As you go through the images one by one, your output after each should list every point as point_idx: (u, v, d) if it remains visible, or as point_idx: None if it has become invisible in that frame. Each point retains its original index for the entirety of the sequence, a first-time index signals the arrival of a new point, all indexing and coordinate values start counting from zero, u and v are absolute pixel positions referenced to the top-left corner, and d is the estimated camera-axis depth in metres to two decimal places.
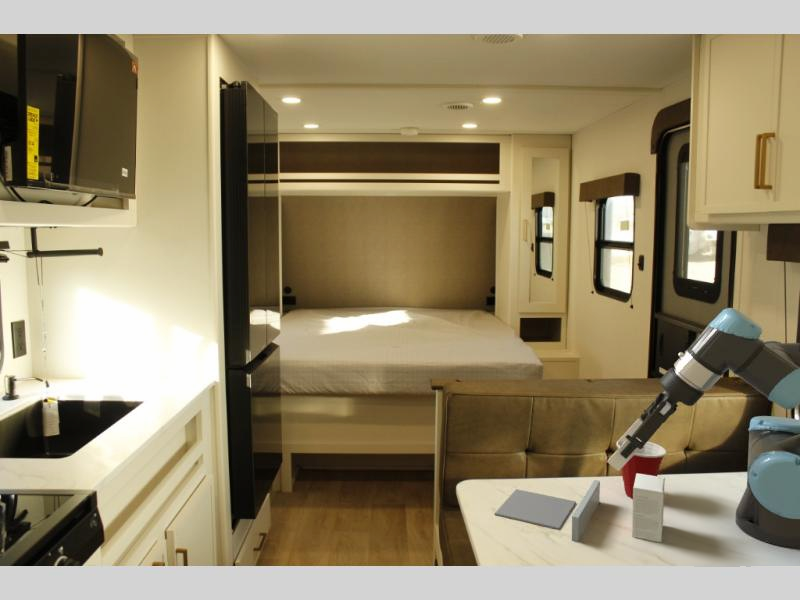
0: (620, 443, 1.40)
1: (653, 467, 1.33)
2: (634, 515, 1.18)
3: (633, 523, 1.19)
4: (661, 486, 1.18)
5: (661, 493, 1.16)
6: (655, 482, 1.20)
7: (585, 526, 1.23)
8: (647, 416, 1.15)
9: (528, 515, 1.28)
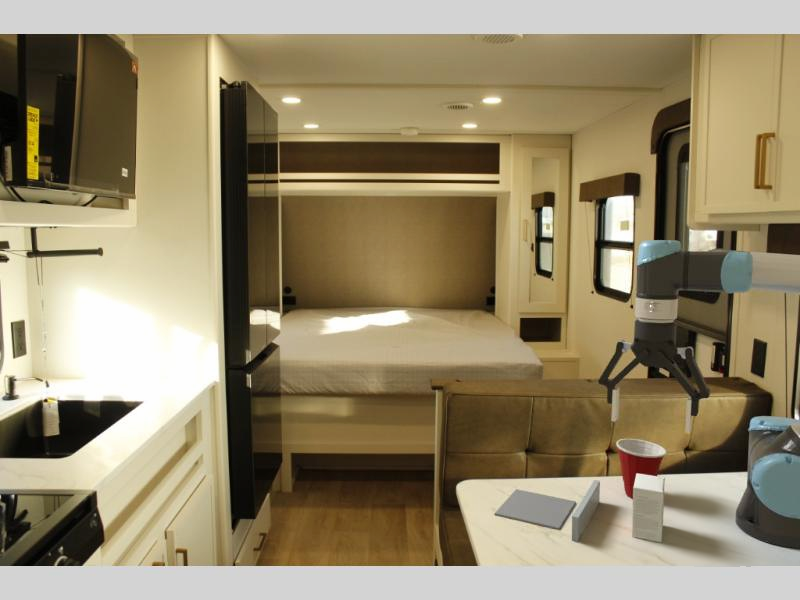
0: (620, 443, 1.40)
1: (653, 467, 1.33)
2: (634, 515, 1.18)
3: (633, 523, 1.19)
4: (661, 486, 1.18)
5: (661, 493, 1.16)
6: (655, 482, 1.20)
7: (585, 526, 1.23)
8: (673, 373, 1.14)
9: (528, 515, 1.28)
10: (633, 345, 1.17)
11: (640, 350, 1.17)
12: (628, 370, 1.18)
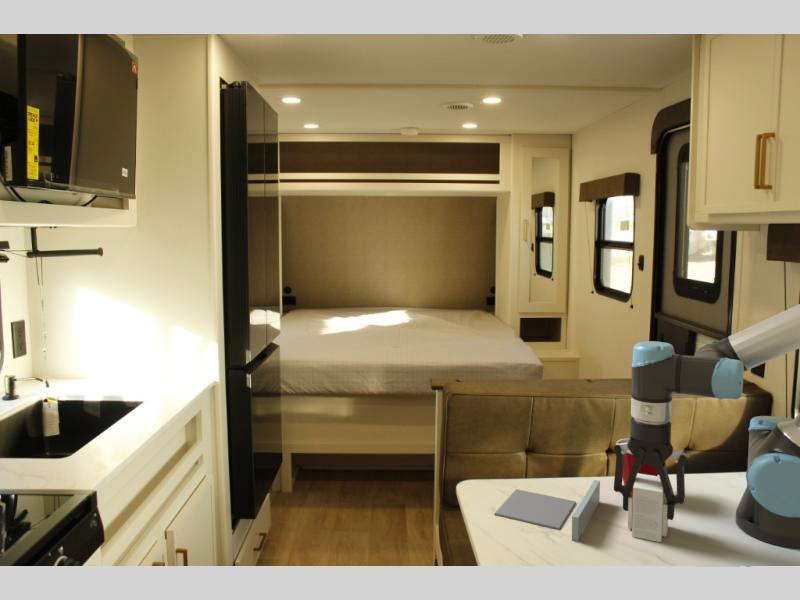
0: None
1: (653, 467, 1.33)
2: (634, 515, 1.18)
3: (633, 523, 1.19)
4: (661, 485, 1.18)
5: (661, 493, 1.16)
6: (655, 482, 1.20)
7: (585, 526, 1.23)
8: (660, 474, 1.18)
9: (528, 515, 1.28)
10: (629, 444, 1.20)
11: (637, 447, 1.20)
12: (635, 473, 1.20)
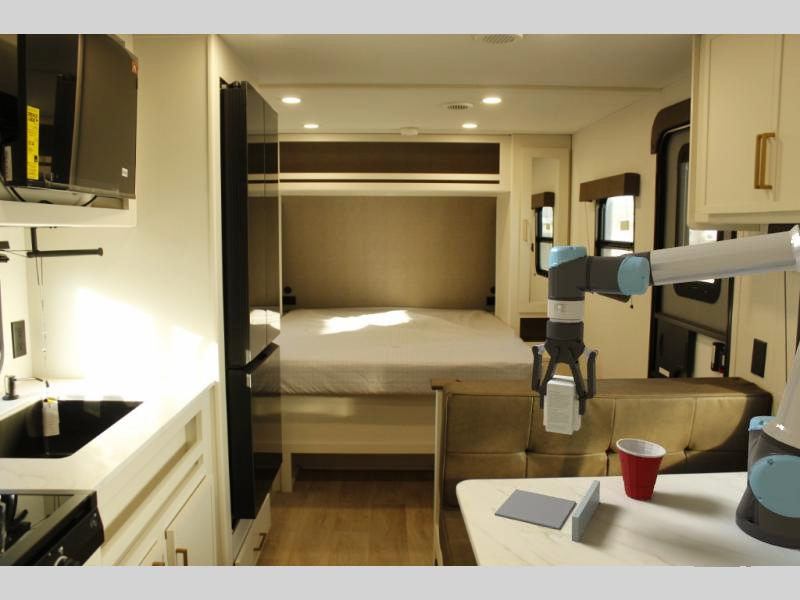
0: (620, 443, 1.40)
1: (653, 467, 1.33)
2: (547, 410, 1.24)
3: (546, 417, 1.25)
4: None
5: (572, 387, 1.22)
6: (569, 380, 1.26)
7: (585, 526, 1.23)
8: (572, 371, 1.24)
9: (528, 515, 1.28)
10: (545, 344, 1.26)
11: (552, 346, 1.26)
12: (550, 371, 1.26)
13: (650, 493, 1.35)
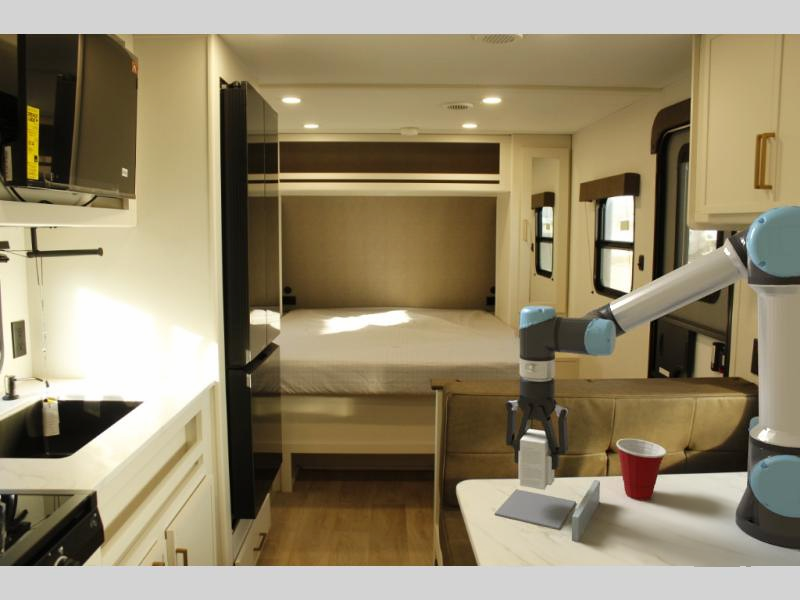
0: (620, 443, 1.40)
1: (653, 467, 1.33)
2: (521, 465, 1.28)
3: (520, 473, 1.29)
4: (546, 438, 1.28)
5: (543, 444, 1.26)
6: (542, 435, 1.30)
7: (585, 526, 1.23)
8: (545, 427, 1.28)
9: (528, 515, 1.28)
10: (518, 401, 1.30)
11: (525, 403, 1.30)
12: (523, 427, 1.30)
13: (650, 493, 1.35)
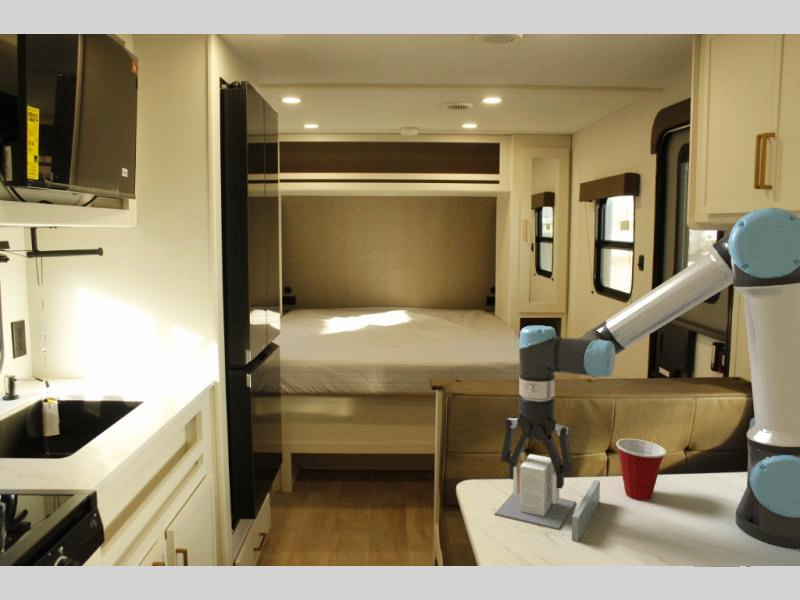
0: (620, 443, 1.40)
1: (653, 467, 1.33)
2: (521, 491, 1.29)
3: (520, 499, 1.29)
4: (546, 465, 1.29)
5: (543, 471, 1.26)
6: (542, 461, 1.31)
7: (585, 526, 1.23)
8: (547, 447, 1.28)
9: (528, 515, 1.28)
10: (518, 420, 1.31)
11: (525, 423, 1.30)
12: (521, 445, 1.31)
13: (650, 493, 1.35)
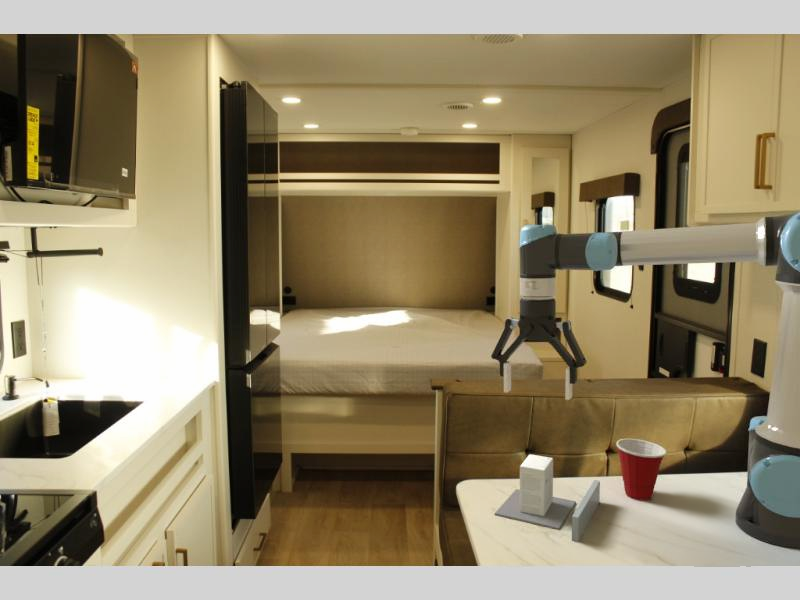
0: (620, 443, 1.40)
1: (653, 467, 1.33)
2: (521, 491, 1.29)
3: (520, 499, 1.29)
4: (546, 465, 1.29)
5: (543, 471, 1.26)
6: (542, 461, 1.31)
7: (585, 526, 1.23)
8: (553, 345, 1.25)
9: (528, 515, 1.28)
10: (519, 321, 1.28)
11: (525, 326, 1.28)
12: (516, 344, 1.29)
13: (650, 493, 1.35)
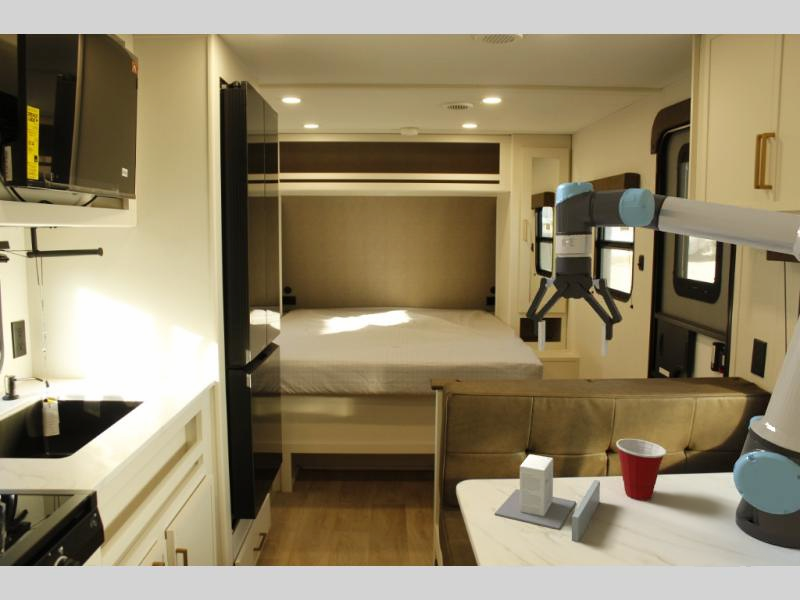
0: (620, 443, 1.40)
1: (653, 467, 1.33)
2: (521, 491, 1.29)
3: (520, 499, 1.29)
4: (546, 465, 1.29)
5: (543, 471, 1.26)
6: (542, 461, 1.31)
7: (585, 526, 1.23)
8: (589, 302, 1.26)
9: (528, 515, 1.28)
10: (555, 280, 1.30)
11: (561, 284, 1.29)
12: (551, 303, 1.30)
13: (650, 493, 1.35)
